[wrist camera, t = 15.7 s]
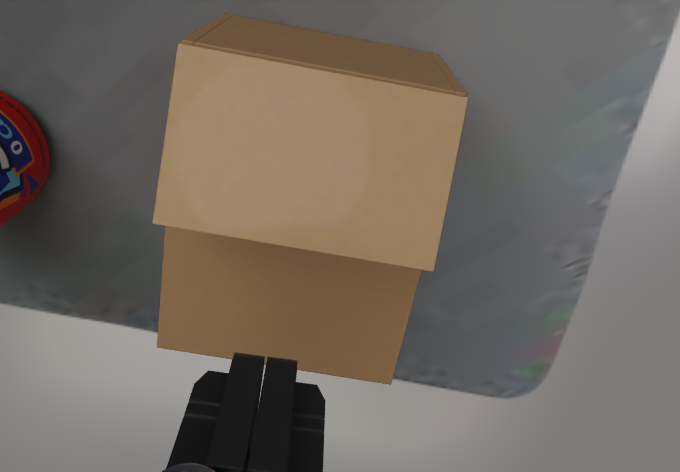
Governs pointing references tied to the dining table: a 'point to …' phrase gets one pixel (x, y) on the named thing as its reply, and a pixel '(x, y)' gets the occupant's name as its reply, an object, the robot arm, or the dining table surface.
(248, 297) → the carton
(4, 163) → the soda can
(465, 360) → the dining table surface
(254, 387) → the robot arm
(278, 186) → the flap
